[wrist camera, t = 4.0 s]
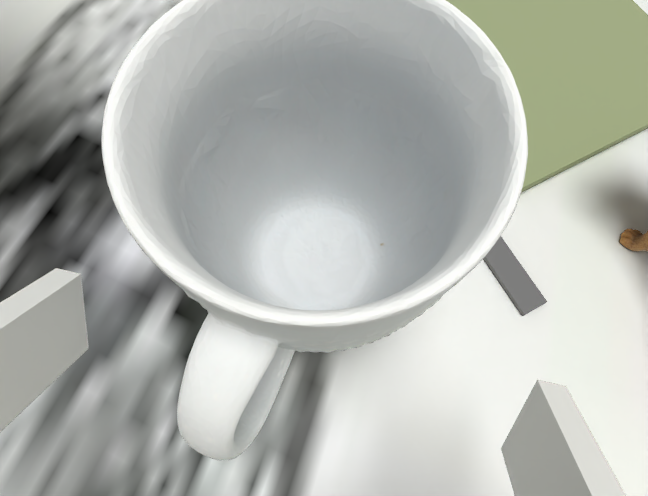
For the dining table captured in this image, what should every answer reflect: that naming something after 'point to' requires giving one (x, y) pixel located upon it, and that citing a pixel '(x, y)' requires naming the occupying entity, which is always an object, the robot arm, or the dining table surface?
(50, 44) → the dining table surface
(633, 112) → the mat
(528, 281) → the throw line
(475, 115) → the mug
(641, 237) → the lion figurine
